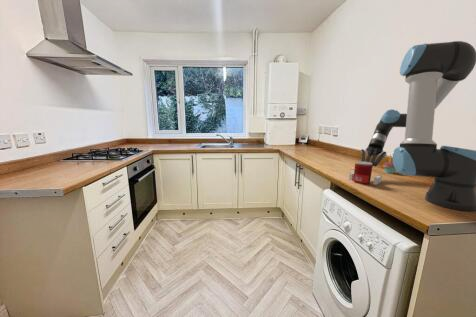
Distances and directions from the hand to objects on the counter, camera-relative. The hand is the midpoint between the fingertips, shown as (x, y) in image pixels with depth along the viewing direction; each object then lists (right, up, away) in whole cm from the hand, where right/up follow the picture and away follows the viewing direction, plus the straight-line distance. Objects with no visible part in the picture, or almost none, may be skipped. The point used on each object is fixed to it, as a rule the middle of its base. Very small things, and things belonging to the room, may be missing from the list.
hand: (364, 174), depth 114 cm
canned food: (-4, -4, -3) cm, 6 cm away
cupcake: (+29, -1, +19) cm, 35 cm away
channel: (0, -4, 0) cm, 4 cm away
